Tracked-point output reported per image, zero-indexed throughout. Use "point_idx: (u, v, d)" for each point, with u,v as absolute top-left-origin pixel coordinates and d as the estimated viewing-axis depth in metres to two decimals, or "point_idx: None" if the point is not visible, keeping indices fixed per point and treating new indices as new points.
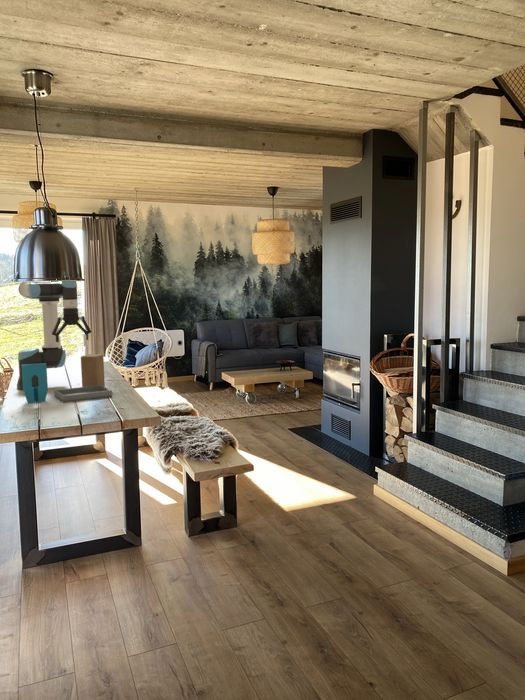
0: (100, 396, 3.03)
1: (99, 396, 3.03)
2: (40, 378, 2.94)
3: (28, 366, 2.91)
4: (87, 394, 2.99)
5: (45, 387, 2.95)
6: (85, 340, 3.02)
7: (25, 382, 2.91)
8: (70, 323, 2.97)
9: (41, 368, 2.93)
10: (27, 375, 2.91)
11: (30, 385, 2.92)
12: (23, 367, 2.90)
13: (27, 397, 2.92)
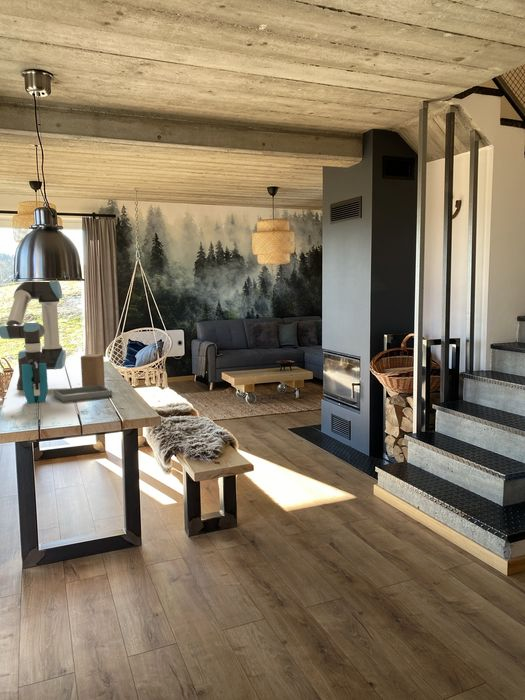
0: (100, 396, 3.03)
1: (99, 396, 3.03)
2: (40, 378, 2.94)
3: (28, 366, 2.91)
4: (87, 394, 2.99)
5: (45, 387, 2.95)
6: None
7: (25, 382, 2.91)
8: None
9: (41, 368, 2.93)
10: (27, 375, 2.91)
11: (30, 385, 2.92)
12: (23, 367, 2.90)
13: (27, 397, 2.92)
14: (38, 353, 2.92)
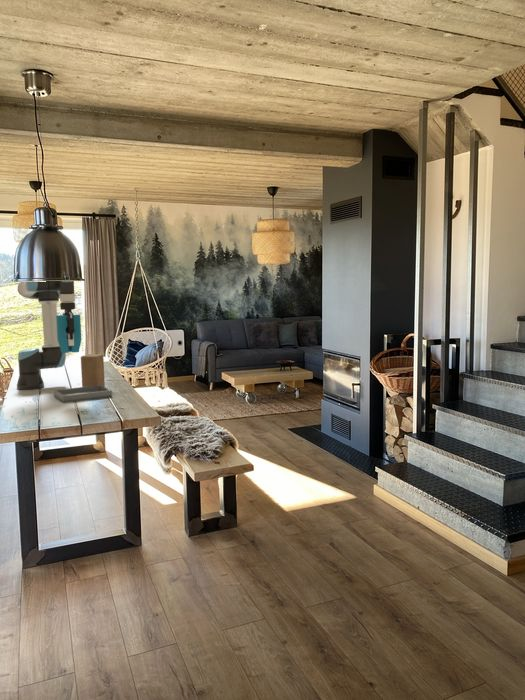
0: (100, 396, 3.03)
1: (99, 396, 3.03)
2: (74, 329, 2.99)
3: (63, 316, 2.96)
4: (87, 394, 2.99)
5: (79, 338, 3.01)
6: (68, 339, 2.98)
7: (60, 332, 2.96)
8: None
9: (75, 319, 2.99)
10: (62, 325, 2.96)
11: (64, 335, 2.98)
12: (58, 317, 2.95)
13: (61, 347, 2.98)
14: (72, 304, 2.97)
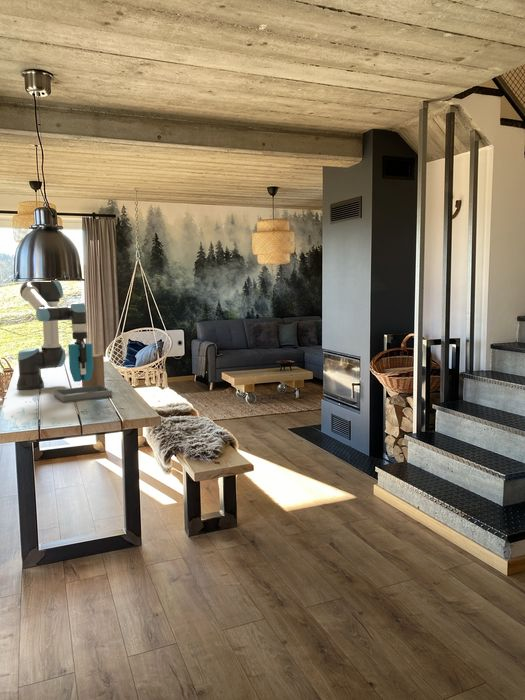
0: (100, 396, 3.03)
1: (99, 396, 3.03)
2: None
3: (75, 346, 3.01)
4: (87, 394, 2.99)
5: (91, 366, 3.06)
6: (80, 368, 3.03)
7: (72, 361, 3.01)
8: None
9: (87, 348, 3.04)
10: (74, 354, 3.01)
11: (77, 364, 3.02)
12: (70, 347, 3.00)
13: (74, 376, 3.02)
14: (84, 333, 3.02)
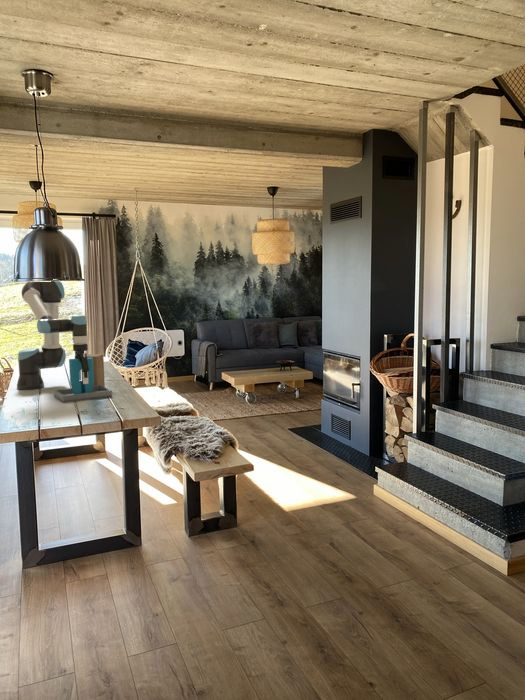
0: (100, 396, 3.03)
1: (99, 396, 3.03)
2: None
3: (76, 360, 3.02)
4: (87, 394, 2.99)
5: (91, 381, 3.07)
6: None
7: (73, 376, 3.02)
8: (78, 358, 3.05)
9: (88, 362, 3.05)
10: (75, 369, 3.02)
11: (78, 379, 3.03)
12: (71, 361, 3.01)
13: (75, 390, 3.03)
14: (85, 345, 3.03)
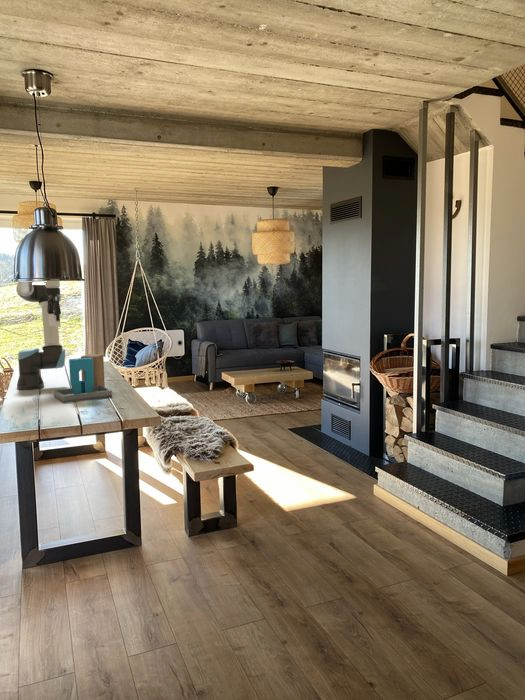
0: (100, 396, 3.03)
1: (99, 396, 3.03)
2: (87, 372, 3.05)
3: (76, 360, 3.02)
4: (87, 394, 2.99)
5: (91, 381, 3.07)
6: (54, 321, 3.01)
7: (73, 376, 3.02)
8: (51, 302, 3.06)
9: (88, 362, 3.05)
10: (75, 369, 3.02)
11: (78, 379, 3.03)
12: (71, 361, 3.01)
13: (75, 390, 3.03)
14: (57, 289, 3.04)
